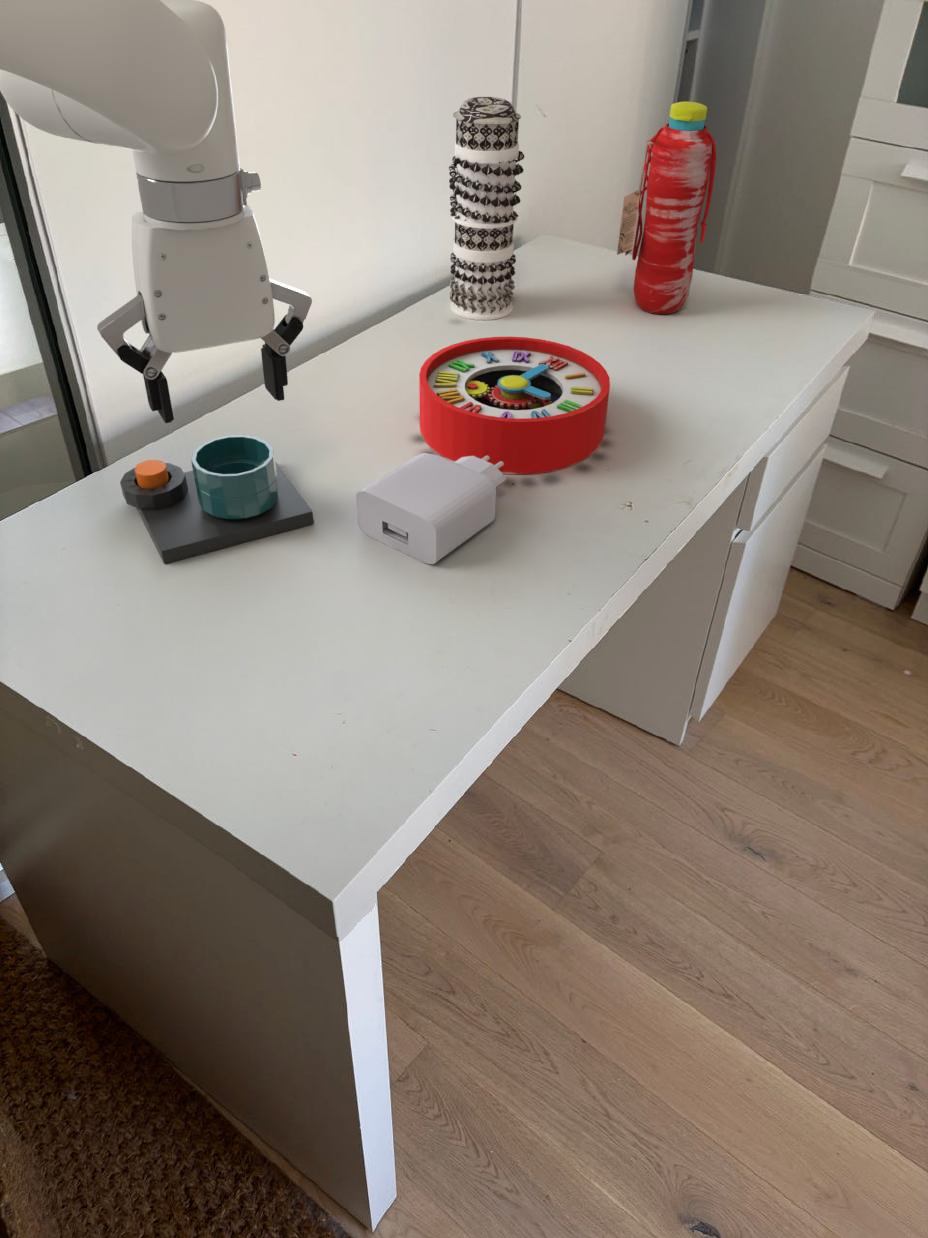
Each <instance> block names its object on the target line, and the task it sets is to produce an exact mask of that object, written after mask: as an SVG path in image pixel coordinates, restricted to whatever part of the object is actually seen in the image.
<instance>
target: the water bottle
mask: <svg viewBox="0 0 928 1238" xmlns="http://www.w3.org/2000/svg"><path fill="white" fill-rule="evenodd" d="M707 112H708V106H707V105H705V104H704V103H703V104H702V103H700V102H695V101H679V102H674V103H672V104H671V106H670V110H669V122H668V123H665V125H664V126H663V127H661V128H659V129H658V131H657V133H655V135H654V136H653V137H652V138H650V139H649V140H646V141H645V144H646V147H645V151H644V154H643V155H644V156H643V161H642V168H641V173H640V179H639V186H638V190H636V191H633V192H631V193H629V194H627V195H625V196H624V197H623V204H622V212H621V220H620V228H619V234H618V235H619V236H618V243H617V252H616V255H617V256H619V255H621V254H624V253H625V255H624V257H626V256H628V255H629V253H631V252H632V255H631V259H632V261H635V260H637V262H636V266H635V272H634V282H633V294H634V299H635V303H636V305H637V306H638V307H639V308H640V309H641V310H642V311H644V312H647V313H650V314H654V315H670V314H674V313H676V312H678V311H680V310H681V309H682V307H683V306H684V304H685V302H686V301H687V298H688V297H689V295H690V289H691V285H692V279H693V273H694V265H695V264H694V263H695V254H696V245H697V235H698V229H699V224H700V226H701V229H700V230H701V231H700V238H699V239H700V240H699V243H700V244H701V245H702V244H703V243H704V240H705V236H706V230H707V223H706V222H707V221H706V220H707V218H708V216H709V211H710V206H711V200H712V195H713V190H714V182H715V173H716V168H717V167H716V166H717V146H716V142H715V139H714V137H713V136H712V134H711V133H710V132H709V129H708V126H706V125H705V122H706V119H707ZM645 193H646V201H645V207H646V208H645V216H644V222H643V214H642V211H643V206H644V198H645ZM705 198H706V199H705ZM705 200H706V202H705ZM704 202H705V208H704V213H703V218H702V220H701V222H700V218H701V214H702V210H703V206H704ZM637 256H638V257H637Z"/></svg>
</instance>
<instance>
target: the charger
mask: <svg viewBox="0 0 928 1238" xmlns="http://www.w3.org/2000/svg"><path fill="white" fill-rule="evenodd" d="M489 459H490V457H489V456H485V457H483V458H482V459H479V458H477V457H475V456H467V457H461V458H460V459H458V460H457V461H455V462H453V461H450V460H449V459H447V458H445V457H443V456H441V455H439V454H433V453H426V452H422V453H419V454H417V455H416V456H415V457H413V458H411V459H410V460H408V461H406V462H405V463H403V464H401V465H399V466H398V467H396V468H395V469H393V470H391V471H390V472H388V473H387V474H385V475H383V476H382V477H380V478H379V479H377V480H375V481H373V482H372V483H370V484H369V485H367V486H366V487H364V488H362V489H361V490H359V491H357V492H356V495H355V498H356V499H355V500H356V516H357V518H356V519H357V525H358V527H359V529H360V530H361V531H362V532H363V533H364V534H365V535H366V536H369V537H370V538H372V539H374V540H376V541H378V542H380V543H382V544H384V545H386V546H388V547H390V548H392V549H395V550H396V551H398V552H401V553H402V554H405V555H407V556H409V557H411V558H412V559H415V560H417V561H419V562H421V563H423V564H425V565H426V564H427V565H434V564H436V563H437V562H439V561H440V560H441V559H443V558H444V557H446V556H447V555H449V554H450V553H451V552H453V551H454V550H455V549H457V548H458V547H459V546H461V545H462V544H464V543H465V542H466V541H468V540H469V539H470V538H472V537H473V536H475V535H476V534H477V533H479V532H480V531H481V530H482V529H484V528H485V527H487V526H488V525H489V524H491V523H492V522H494V520H495V519H496V506H497V505H496V504H497V503H496V502H497V487H498V486H500V485H501V484H503V482H505V481H506V480H507V478H506V477H505V474H502V473H501V472H500V471H499V470H498V469H499V468H500V467H501V466H503V465H504V463H503V462H502V461H500V462H499V463H497V464H496V465H493V464H492V463H489V462H487V461H488V460H489Z"/></svg>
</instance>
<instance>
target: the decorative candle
mask: <svg viewBox="0 0 928 1238" xmlns="http://www.w3.org/2000/svg"><path fill="white" fill-rule="evenodd" d="M452 117H453V118H455V140H454V149H453V150H454V156H453V157H452V163H451V164H450V165H449V166H448V170H449V173H448V174H449V176H450V178H449V180H448V183H449V186H448V187H449V190H452V192H453V193H452V194H451V195H450V196H449V200H450V203H449V204H450V206H451V208H450V210H449V212H450V217H451V220H452V221H453V222H454V238H453V241H452V242H453V243H452V245H453V247H452V248H453V250H452V251H453V252H451V254H450V262H451V263H453V264H451V265H450V274H451V275H453V276H452V277H451V278H450V280H449V288H450V289H451V290H450V292H449V299H450V311H451V312H452V313H454V314H455V315H456V316H459V317H461V318H464V319H468V320H475V321H491V320H499V319H502V318H505V317H506V316H509V315H510V314H511V313H512V312H513V311H514V310H513V309H514V307H513V301H515V297H514V295H515V294H514V292H513V291H514V289H516V285H515V280H514V279H512V277H513V276H514V275H516V270H515V269H516V268H515V266H514V264H516V262H517V258H516V254H514V252H515V242H514V229H515V228H514V226H515V225H514V224H515V223H516V222H517V221H518V217H519V214H518V212H517V211H515V210H514V207H515V206H516V205H519V204H520V203H521V198H520V196H519V195H518V194H517V193H518V192H519V191H521V190H522V185H521V183H520V182H518V181H517V179H516V176H519V175H521V174H523V173H524V168H523V166H522V165H521V164H519V162H521V161H523V160H524V159H525V154H524V153H523V152H524V151H521V150H520V142H519V128H520V119H522V116H521V114H520V113H518V112H516V110H515V108H514V105H513V104H512V103H511V102H510V101H509V100H507V99H505V98H501V97H496V96H476V97H471V98H470V97H469V98H468V99H466V100H465V101H463V102H462V104H461V105H460V107H459V109H458V110H457V111H455V112H453V113H452Z"/></svg>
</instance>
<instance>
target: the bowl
mask: <svg viewBox="0 0 928 1238" xmlns="http://www.w3.org/2000/svg"><path fill="white" fill-rule="evenodd" d="M275 461H276V456H275V451H274V448H273V446H271V444H270V443H269V442H268V441H265V440H264V439H262V438H260V437H257V436H251V435H245V434H237V435H224V436H221V437H216V438H212V439H210V440H208V441H205V442H204V443H202V444H200V445H199V446H198V447H196V449H195V450H194V451H193V452H192V455H191V459H190V462H191V468H192V471H193V473H194V479H195V484H196V489H197V495H198V500H199V504H200V505H201V507H202V509H203V510H204V511H205V512H207V513H209V514H211V515H212V516H214V517H219V518H224V519H231V520H239V519H247V518H251V517H254V516H257V515H259V514H261V513H263V512H265V511H267V510H269V509H270V508H272V506H273V505H274V504H275V503H276V502H277V500H278V495H279V489H278V481H277V472H276V464H275Z"/></svg>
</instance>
